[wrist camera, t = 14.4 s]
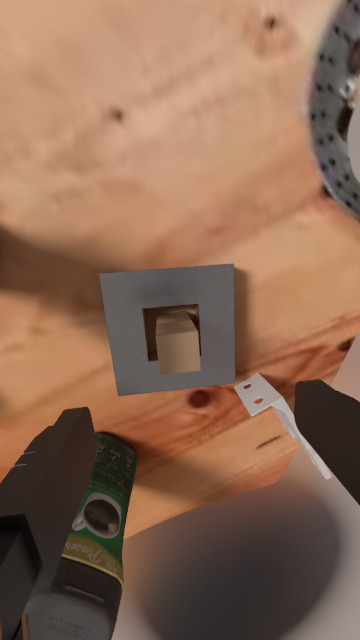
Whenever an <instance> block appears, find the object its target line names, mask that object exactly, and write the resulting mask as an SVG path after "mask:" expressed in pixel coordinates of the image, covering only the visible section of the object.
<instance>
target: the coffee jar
mask: <svg viewBox="0 0 360 640" xmlns="http://www.w3.org/2000/svg"><path fill="white" fill-rule="evenodd" d="M95 436H96V441H97V453H96V459H95V462H94V465H93V468H92V471H91V473H90V476H89V479H88V482H87V485H86V488H85V490H84V493H83V496H82V499H81V502H80V505H79V508H78V510H77V513H76V516H75V519H74V522H73V525H72V527H71V530H70V533H69V536H68V539H67V542H66V545H65V547H64V550H63V553H62V556H61V559H60V562H59V565H58V567H57V570H56V573H55V576H54V579H53V582H52V584H51V586H49V587H43V588H37V589H33V590H32V592H31V595H30V597H29V599H28V602H27V604H26V607H25V609H24V613H25V617H26V625H27V633H28V640H111V638H112V635H113V632H114V628H115V624H116V620H117V614H118V609H119V605H120V600H121V595H122V590H123V565H122V546H123V536H124V529H125V523H126V517H127V512H128V506H129V502H130V497H131V492H132V488H133V483H134V479H135V474H136V468H137V461H138V458H137V455H136V453H135V451H134V450H133V449H132V448H130V447H129V446H128V445H126V444H125V443H123V442H122V441H120V440H118V439H116V438H114V437H112V436H110V435H107V434H104V433H95Z"/></svg>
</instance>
